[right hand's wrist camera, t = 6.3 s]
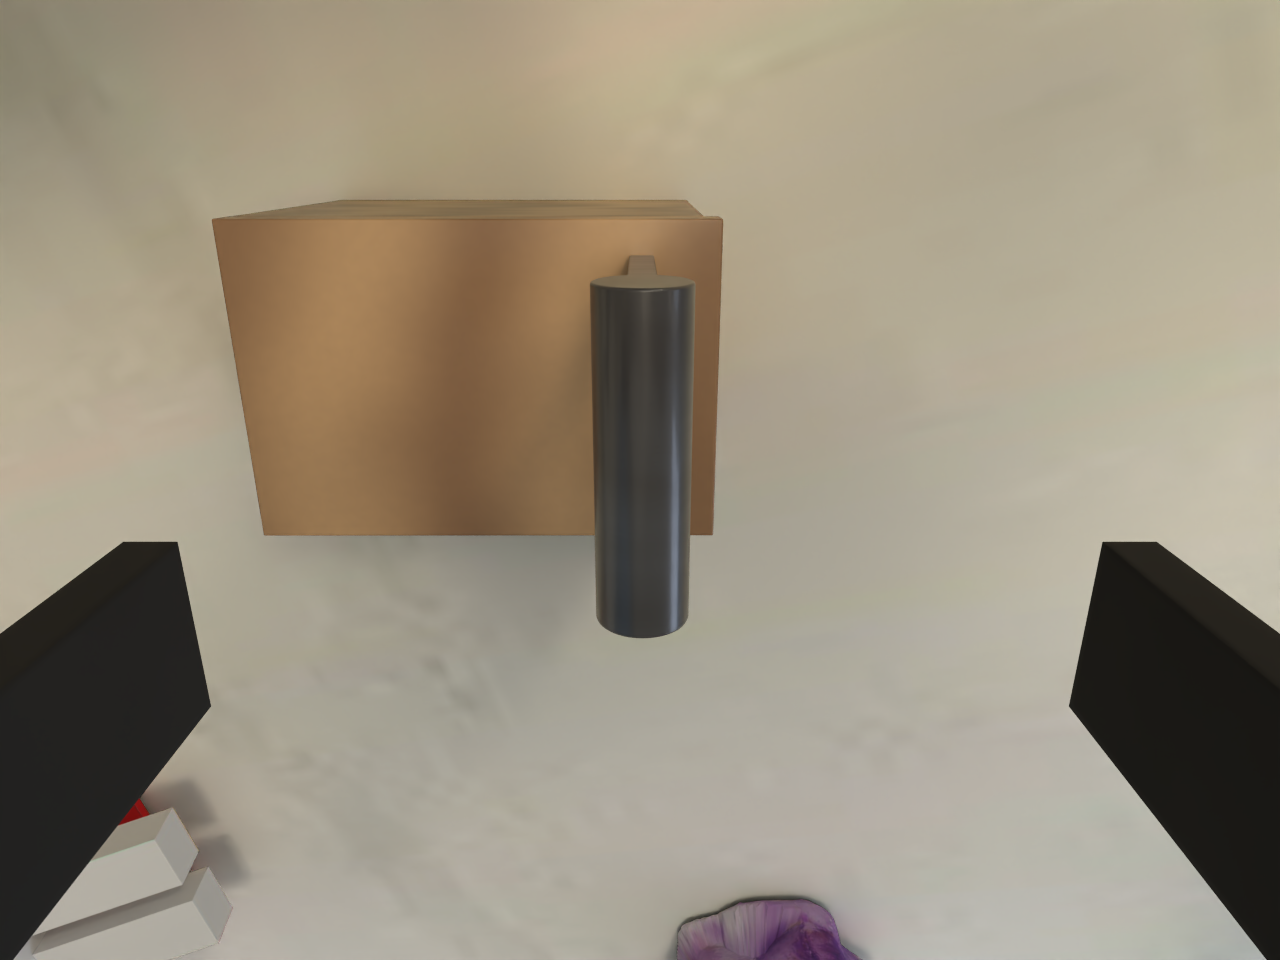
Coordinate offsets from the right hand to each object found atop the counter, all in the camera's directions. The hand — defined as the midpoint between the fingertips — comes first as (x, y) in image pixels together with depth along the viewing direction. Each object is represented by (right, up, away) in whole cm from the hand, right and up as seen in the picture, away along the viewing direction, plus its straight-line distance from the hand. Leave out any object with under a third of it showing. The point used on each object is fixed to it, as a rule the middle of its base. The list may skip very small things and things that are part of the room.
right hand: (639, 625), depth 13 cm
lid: (-5, +5, +14) cm, 15 cm away
